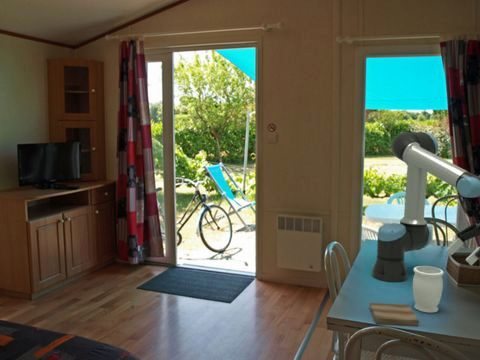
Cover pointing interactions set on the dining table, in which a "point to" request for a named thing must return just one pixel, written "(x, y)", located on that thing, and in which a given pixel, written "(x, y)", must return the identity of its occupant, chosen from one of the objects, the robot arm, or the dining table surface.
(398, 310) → the walnut stand
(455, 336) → the dining table surface
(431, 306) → the jar
